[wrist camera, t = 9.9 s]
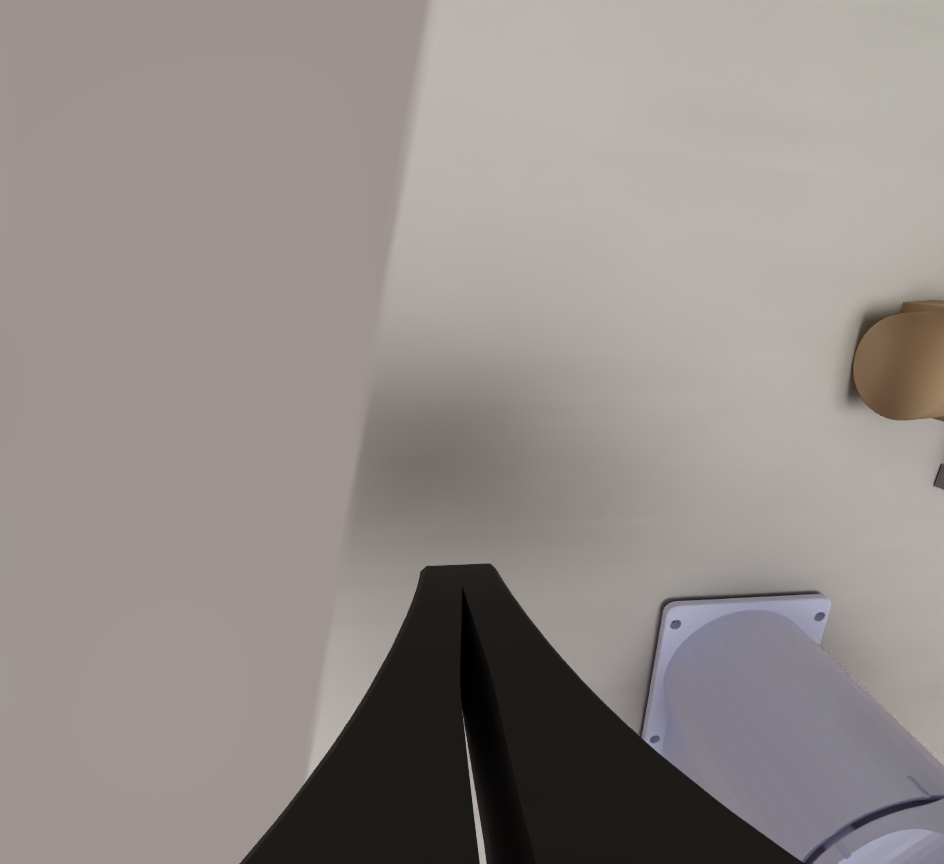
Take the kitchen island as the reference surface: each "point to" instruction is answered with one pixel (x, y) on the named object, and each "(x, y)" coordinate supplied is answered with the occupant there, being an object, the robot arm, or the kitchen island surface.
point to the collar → (940, 478)
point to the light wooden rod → (904, 363)
